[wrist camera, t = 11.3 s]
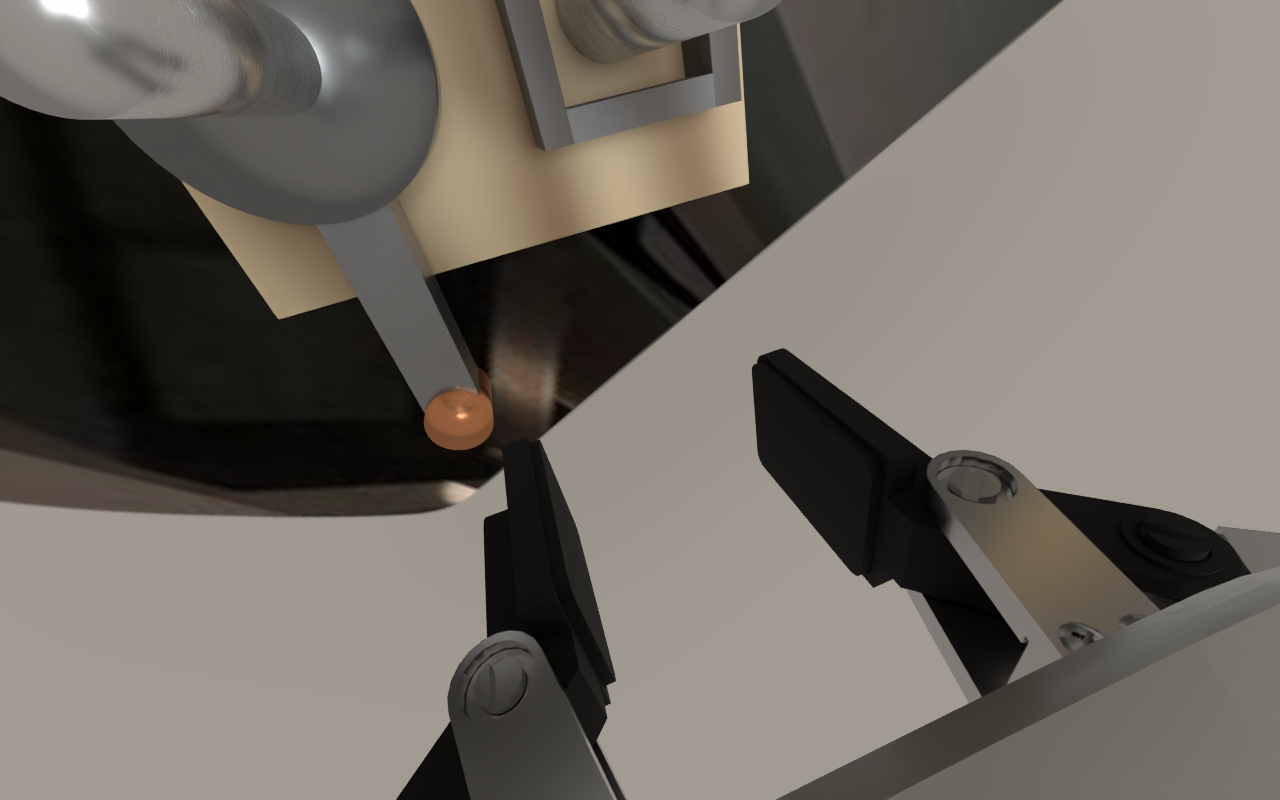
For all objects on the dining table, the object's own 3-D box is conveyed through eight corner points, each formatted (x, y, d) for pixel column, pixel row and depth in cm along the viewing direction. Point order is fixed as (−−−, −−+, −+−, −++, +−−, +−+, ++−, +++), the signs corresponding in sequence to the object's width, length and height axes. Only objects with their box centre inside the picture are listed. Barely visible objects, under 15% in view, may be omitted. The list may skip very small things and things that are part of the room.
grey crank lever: (386, 439, 21) (325, 674, 12) (37, -87, 12) (-1422, -758, 3) (554, 382, 22) (609, 561, 14) (364, -140, 13) (113, -736, 4)
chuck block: (314, 281, 22) (254, 345, 16) (40, -158, 14) (-287, -364, 8) (703, 171, 25) (779, 191, 19) (657, -246, 17) (762, -448, 11)
